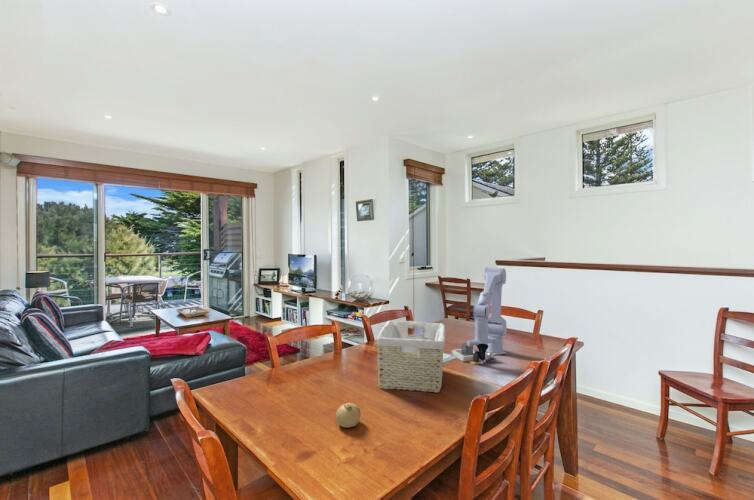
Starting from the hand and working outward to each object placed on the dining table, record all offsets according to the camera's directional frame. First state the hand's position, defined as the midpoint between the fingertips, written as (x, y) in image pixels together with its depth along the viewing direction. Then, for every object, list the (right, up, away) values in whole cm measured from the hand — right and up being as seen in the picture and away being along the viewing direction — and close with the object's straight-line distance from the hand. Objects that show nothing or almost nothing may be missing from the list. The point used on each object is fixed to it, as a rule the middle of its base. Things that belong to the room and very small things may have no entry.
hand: (481, 359), depth 164 cm
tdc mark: (-3, -3, +3) cm, 5 cm away
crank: (+2, -1, +4) cm, 4 cm away
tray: (-4, -2, +11) cm, 12 cm away
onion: (-58, -5, -51) cm, 77 cm away
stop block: (-4, -2, +11) cm, 12 cm away
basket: (-34, -4, -16) cm, 37 cm away
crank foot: (+6, -3, +6) cm, 9 cm away
